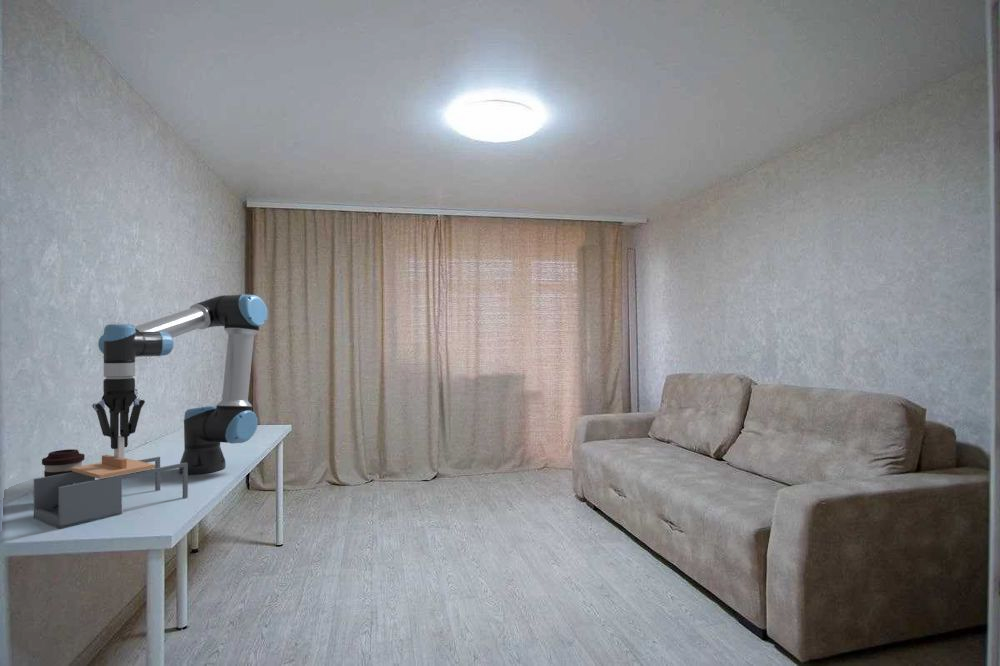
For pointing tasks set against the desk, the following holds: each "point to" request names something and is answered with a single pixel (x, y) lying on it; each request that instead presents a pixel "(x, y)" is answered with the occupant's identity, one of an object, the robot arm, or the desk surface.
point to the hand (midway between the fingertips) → (119, 459)
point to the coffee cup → (62, 461)
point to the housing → (88, 495)
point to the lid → (112, 467)
